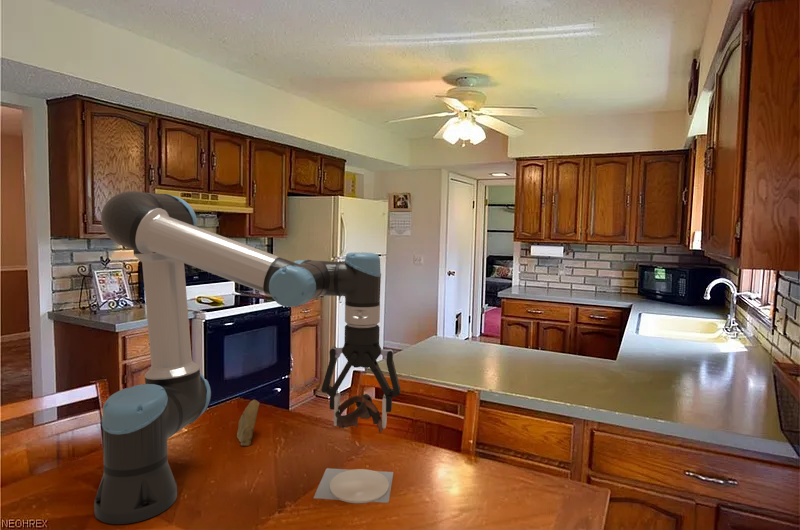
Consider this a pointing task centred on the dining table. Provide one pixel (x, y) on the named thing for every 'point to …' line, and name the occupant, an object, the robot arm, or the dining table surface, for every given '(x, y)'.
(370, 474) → the cream round plate
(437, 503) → the dining table surface
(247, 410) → the rock
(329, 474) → the felt placemat
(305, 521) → the dining table surface
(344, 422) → the broken terracotta ring
